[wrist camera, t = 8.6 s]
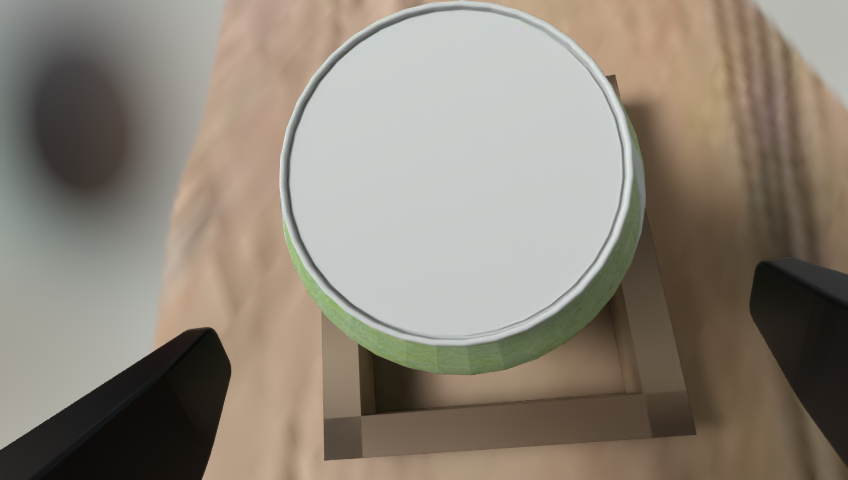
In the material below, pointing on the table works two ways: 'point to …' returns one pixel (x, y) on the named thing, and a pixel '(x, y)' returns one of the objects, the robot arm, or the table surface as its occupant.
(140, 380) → the robot arm
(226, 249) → the table surface
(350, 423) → the walnut collar
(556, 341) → the beverage can
